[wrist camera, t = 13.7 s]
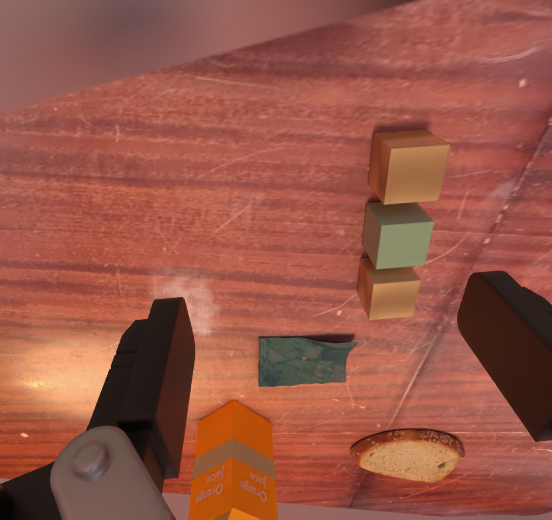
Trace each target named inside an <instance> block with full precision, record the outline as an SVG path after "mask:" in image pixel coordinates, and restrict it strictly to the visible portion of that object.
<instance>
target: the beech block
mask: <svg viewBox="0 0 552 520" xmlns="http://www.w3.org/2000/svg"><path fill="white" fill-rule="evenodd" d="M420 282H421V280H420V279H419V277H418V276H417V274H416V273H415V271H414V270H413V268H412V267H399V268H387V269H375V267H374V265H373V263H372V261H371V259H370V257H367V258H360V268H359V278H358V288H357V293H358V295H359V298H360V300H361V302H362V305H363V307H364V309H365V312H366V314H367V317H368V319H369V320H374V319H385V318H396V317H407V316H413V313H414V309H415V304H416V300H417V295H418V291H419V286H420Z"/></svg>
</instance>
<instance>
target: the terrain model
mask: <svg viewBox="0 0 552 520" xmlns="http://www.w3.org/2000/svg"><path fill="white" fill-rule="evenodd" d="M356 344H357V342H349V343H326V342H320V341H315V340H311V339H307V338H302V337H295V338H278V337H271V338H260V339H259V353H260V368H259V377H258V382H259V387H262V386H266V387H275V386H285V385H288V386H292V385H298V384H314V383H321V384H324V383H329V382H346V370H345V368H346V359H347V356H348V353H349V352H350V351H351V350H352V349H353V348H354V347H355V346H356Z"/></svg>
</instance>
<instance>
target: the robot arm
mask: <svg viewBox="0 0 552 520" xmlns="http://www.w3.org/2000/svg"><path fill="white" fill-rule="evenodd" d="M457 322H458V327H459V330H460V333H461V335H462V336H463V338H464V339H465V341H466V342H467V343H468V345H469V346H470V348H471V349H472V351H473V352H474V354H475V355H476V357H477V358H478V359H479V361H480V362H481V364H482V365H483V367H484V368H485V370H486V371H487V372H488V374H489V375H490V377H491V378H492V380H493V381H494V383H495V384H496V385H497V387H498V388H499V390H500V391H501V393H502V394H503V396H504V397H505V398H506V400H507V401H508V403H509V404H510V406H511V407H512V409H513V410H514V411H515V413H516V414H517V416H518V417H519V419H520V420H521V422H522V423H523V424H524V426H525V427H526V429H527V430H528V432H529V433H530V435H531V436H532V438H533V439H534V440H535V442H539V441H548V440H552V305H551V304H550V303H549V302H548V301H547V300H546V299H545V298H543V297H541V296H540V295H538V294H536V293H534V292H532V291H531V290H529V289H527V288H525V287H521V286H520V285H519V284H518V283H517V282H516V281H515V280H514V279H513V278H512V277H511V276H510V275H509V274H508V273H506V272H505V271H489V272H477V273H473V274H471V275H470V277H469V279H468V282H467V285H466V288H465V292H464V295H463V298H462V301H461V304H460V308H459V311H458V315H457ZM194 361H195V341H194V335H193V331H192V327H191V323H190V319H189V315H188V311H187V306H186V303H185V300H184V298H183V297H177V298H166V299H155V300H154V302H153V304H152V307H151V310H150V314H149V317H148V319H143V320H135V321H134V323H133V324H132V325H131V326H130V327H129V328H128V329H127V330H126V332H125V333H124V334H123V335H122V337H121V340H120V343H119V345H118V348H117V351H116V355H115V356H114V359H113V361H112V364H111V369H109V372H108V375H107V377H106V380H105V383H104V385H103V388H102V391H101V393H100V396H99V399H98V401H97V404H96V407H95V409H94V412H93V415H92V417H91V420H90V423H89V425H88V427H87V429H86V431H85V432H84V433H82V434H80V435H79V436H77V437H76V438H74V439H73V440H72V441H71V442H70V443H69V444H67V446H66V447H65V448H64V449H63V450H62V451H61V453H60V454H59V456H58V457H57V459H56V461H54V462H52V463H50V464H48V465H46V466H44V467H41V468H39V469H36V470H34V471H32V472H29V473H27V474H24V475H22V476H19V477H17V478H14V479H12V480H10V481H7V482H4V483H2V484H0V520H176V519H175V517H174V516H173V514H172V512H171V510H170V509H169V507H168V505H167V504H166V502H165V500H164V498H163V497H162V490H163V484H164V479H171V478H179V470H180V463H181V456H182V448H183V441H184V434H185V427H186V419H187V412H188V405H189V398H190V390H191V383H192V376H193V369H194Z"/></svg>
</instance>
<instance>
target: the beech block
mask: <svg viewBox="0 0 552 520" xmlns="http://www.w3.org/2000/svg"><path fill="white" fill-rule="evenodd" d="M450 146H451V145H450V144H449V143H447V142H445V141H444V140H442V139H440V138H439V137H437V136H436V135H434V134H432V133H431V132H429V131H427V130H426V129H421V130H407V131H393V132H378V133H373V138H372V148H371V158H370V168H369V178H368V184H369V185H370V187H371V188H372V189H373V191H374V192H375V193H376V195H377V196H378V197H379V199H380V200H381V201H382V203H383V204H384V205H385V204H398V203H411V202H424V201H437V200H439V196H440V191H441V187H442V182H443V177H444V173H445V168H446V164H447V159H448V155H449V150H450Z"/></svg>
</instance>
